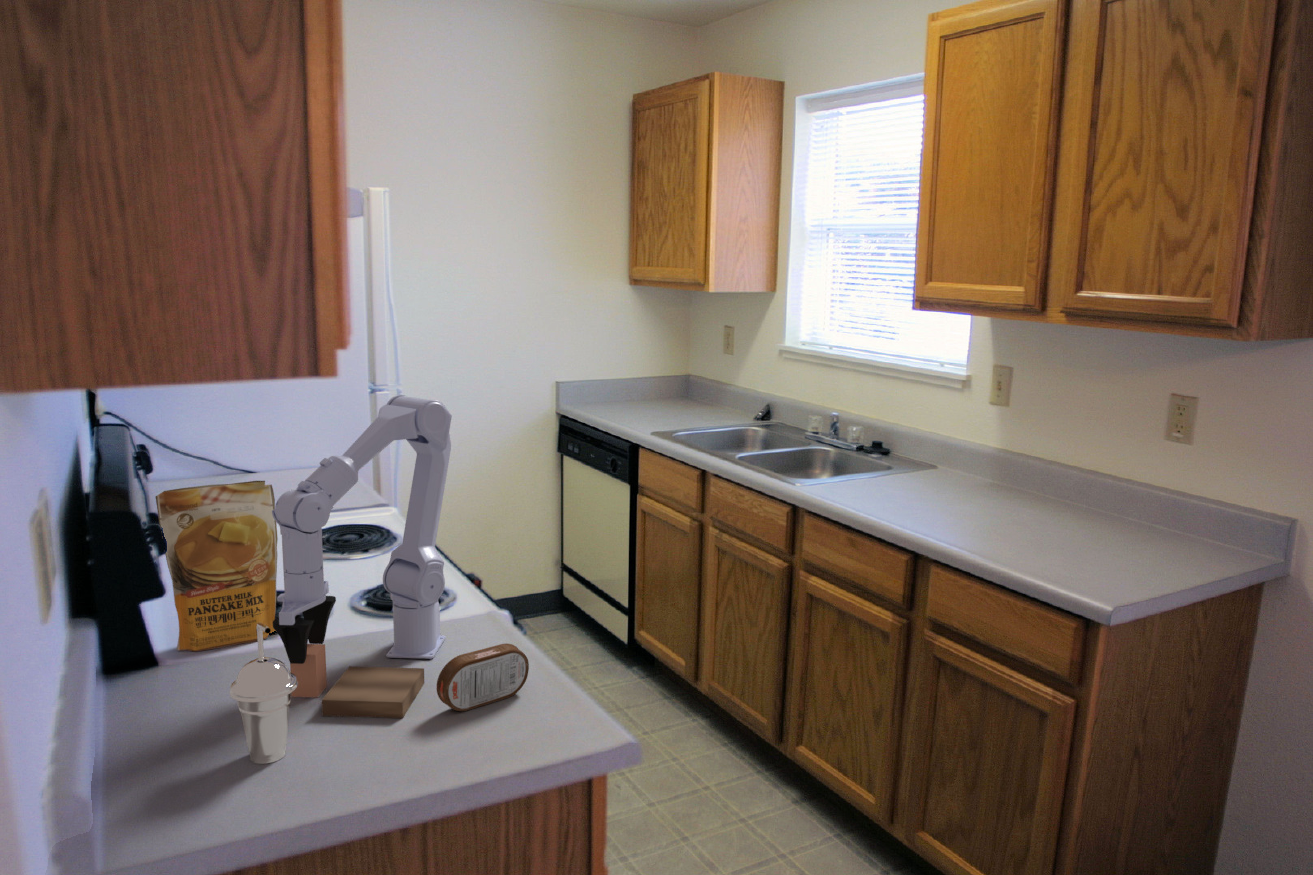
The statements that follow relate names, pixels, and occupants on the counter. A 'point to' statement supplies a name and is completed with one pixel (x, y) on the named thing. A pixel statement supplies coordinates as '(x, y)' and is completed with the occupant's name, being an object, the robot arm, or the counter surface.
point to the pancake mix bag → (221, 561)
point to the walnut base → (373, 692)
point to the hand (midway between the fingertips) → (307, 652)
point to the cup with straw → (264, 703)
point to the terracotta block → (311, 672)
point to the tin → (482, 677)
